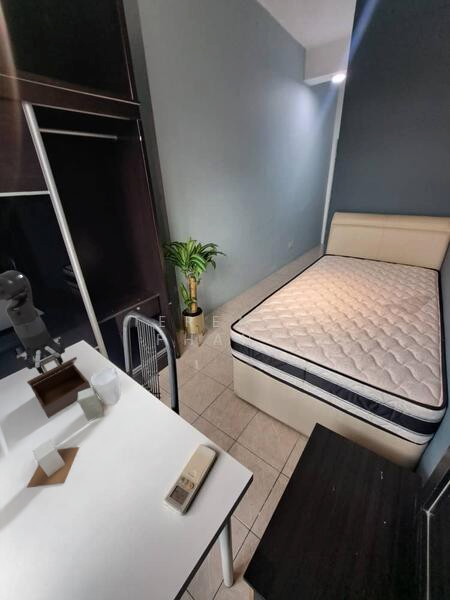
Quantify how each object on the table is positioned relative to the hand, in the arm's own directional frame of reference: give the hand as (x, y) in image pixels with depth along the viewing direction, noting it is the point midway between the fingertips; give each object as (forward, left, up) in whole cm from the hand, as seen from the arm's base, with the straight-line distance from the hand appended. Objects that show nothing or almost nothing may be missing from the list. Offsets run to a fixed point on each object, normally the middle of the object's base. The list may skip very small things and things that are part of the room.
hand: (51, 368), depth 89 cm
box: (+15, -10, -15) cm, 23 cm away
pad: (+9, -27, -15) cm, 32 cm away
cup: (+19, -4, -15) cm, 25 cm away
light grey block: (+9, -27, -15) cm, 32 cm away
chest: (-1, +1, -15) cm, 15 cm away
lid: (-2, +2, -4) cm, 5 cm away
